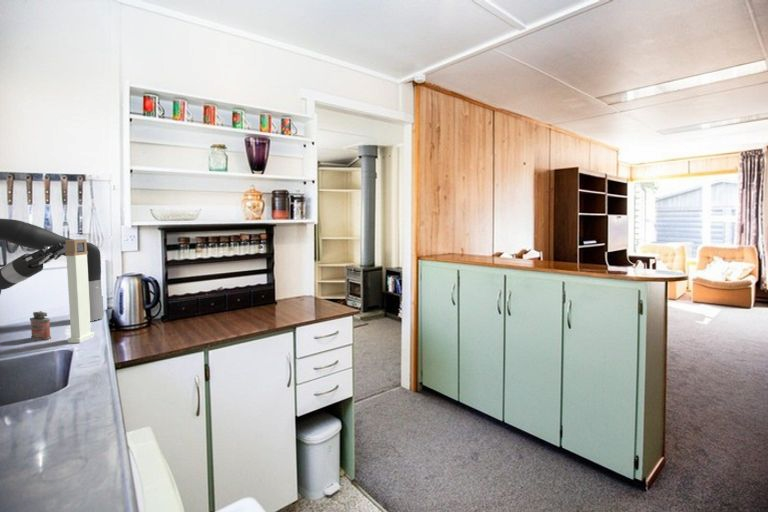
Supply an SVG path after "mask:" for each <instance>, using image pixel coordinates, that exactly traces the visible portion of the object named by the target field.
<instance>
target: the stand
mask: <svg viewBox="0 0 768 512" xmlns="http://www.w3.org/2000/svg"><path fill="white" fill-rule="evenodd" d="M65 242H66V253H65V256H64V257H66V256H67V257H66V270H67V272H66V273H67V274H66V275H67V285H68V286H67V288H68V289H67V290H68V304H69V305H68V307H69V322H70V323H69V324H70V337H68V338H67V344H81V343H83V342H85V341H87V340H89V339H91V338H93V337H95V332H94V331H92V324H91V323H92V321H91V322H90V302H89V283H88V264H87V254H88V251H87V239H84V238H83V239H82V238H81V239H80V238H79V239H78V238H77V239H74V240H65ZM77 243H83V249H84V251H77Z"/></svg>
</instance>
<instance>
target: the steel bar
mask: <svg viewBox="0 0 768 512" xmlns="http://www.w3.org/2000/svg"><path fill="white" fill-rule="evenodd" d="M62 246H63V248H62V249H61V250H59V251H57V252H55V253H53V254H59V253H66V244H62ZM44 247H45V249H46V248H50V247H52V246H44ZM77 251H84V249H83V243H77ZM47 255H48V254H47Z"/></svg>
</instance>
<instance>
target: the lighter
mask: <svg viewBox="0 0 768 512" xmlns="http://www.w3.org/2000/svg"><path fill="white" fill-rule="evenodd" d="M32 315H33V317H30V318H29V321H30V329H31V330H30V331H31V335H30V338H31V340H34V341H43V342H44V341H50V340H51V339H52V336H51V330H50V329H51V328H50V322H51V319H50V318H49V317H48V312H43V311H42V310H39V311H33V313H32ZM49 339H50V340H49Z"/></svg>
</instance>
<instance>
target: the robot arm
mask: <svg viewBox="0 0 768 512" xmlns="http://www.w3.org/2000/svg"><path fill="white" fill-rule="evenodd" d="M0 240H1V241H3V242H7V243H11V244H14V245H17V246H20V247H24V248H28V249H33V250H37V251H34V252H32V253H24V254H22V255H20V256H19V257H17V258H15V259H13V260H12V261H9V262H8V263H6V264H5V265H4V266H2V267H0V295H1V293H2V290H3V291H4V290H7V289H9V288H11V287H13V286H15V285H17V284H19V283H21V282H24V281H25V280H28V279H29V278H31V277H32V276H35V275H37V274H38V273H40V272H42V271H43V269H44V265H45V264H48V263H50V262H51V261H53V260H58V259H59V258H60V257H62V256H64V257H66V258H67V256H65V253H59V254H53V253H55V252H57V251H59V250H61V249H62V248H63V246H62V244H66V242H65V240H75V239H74V238H70V237H66V236H63V235H60V234H57V233H55V232H54V231H51V230H48V229H46V228H43V227H41V226H38V225H35V224H32V223H30V222H26V221H22V220H18V219H14V218H13V219H11V218H0ZM86 242H87V241H86ZM44 246H52V247H50V248H46V249H45V247H44ZM87 251H88V254H87V264H88V283H89V302H90V321H91V322H95V321H94V320H97V321H99V320H98V319H101V318H103V319H104V317H105V315H104V296H103V292H102V262H101V261H102V260H101V258H102V256H101V250H100V249H99V247H97V245H95V244H94V243H91V242H87ZM47 254H48V255H47ZM103 316H104V317H103ZM101 320H102V319H101Z"/></svg>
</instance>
